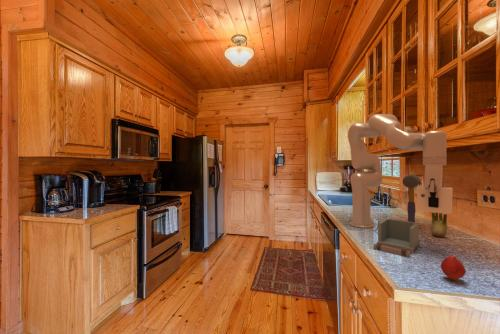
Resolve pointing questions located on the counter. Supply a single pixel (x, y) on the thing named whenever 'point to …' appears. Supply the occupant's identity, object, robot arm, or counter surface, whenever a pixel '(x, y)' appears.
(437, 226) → the fennel bulb
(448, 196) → the door
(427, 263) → the counter surface
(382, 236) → the cabinet
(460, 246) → the counter surface
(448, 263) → the onion
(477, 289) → the counter surface
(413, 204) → the rubber mallet
